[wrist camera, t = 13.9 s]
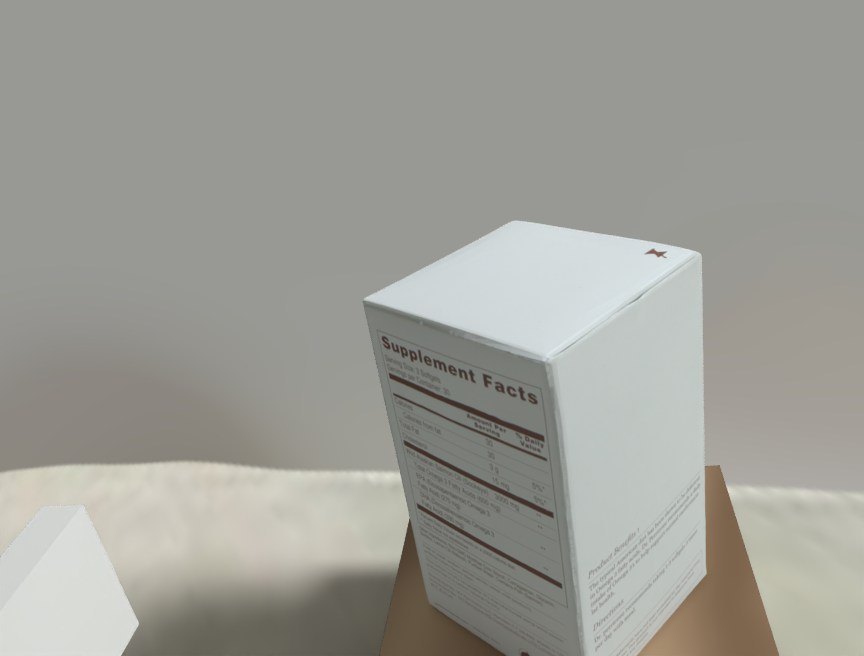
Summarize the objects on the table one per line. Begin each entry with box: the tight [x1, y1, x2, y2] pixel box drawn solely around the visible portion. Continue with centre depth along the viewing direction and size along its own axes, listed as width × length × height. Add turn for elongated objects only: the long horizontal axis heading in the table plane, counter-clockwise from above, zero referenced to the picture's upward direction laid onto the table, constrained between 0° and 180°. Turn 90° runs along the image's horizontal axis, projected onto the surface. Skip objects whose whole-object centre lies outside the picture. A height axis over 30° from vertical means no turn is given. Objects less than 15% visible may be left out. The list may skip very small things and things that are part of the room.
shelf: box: [379, 465, 779, 656], centre depth 30 cm, size 13×14×6 cm
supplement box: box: [363, 221, 707, 656], centre depth 26 cm, size 7×7×13 cm
